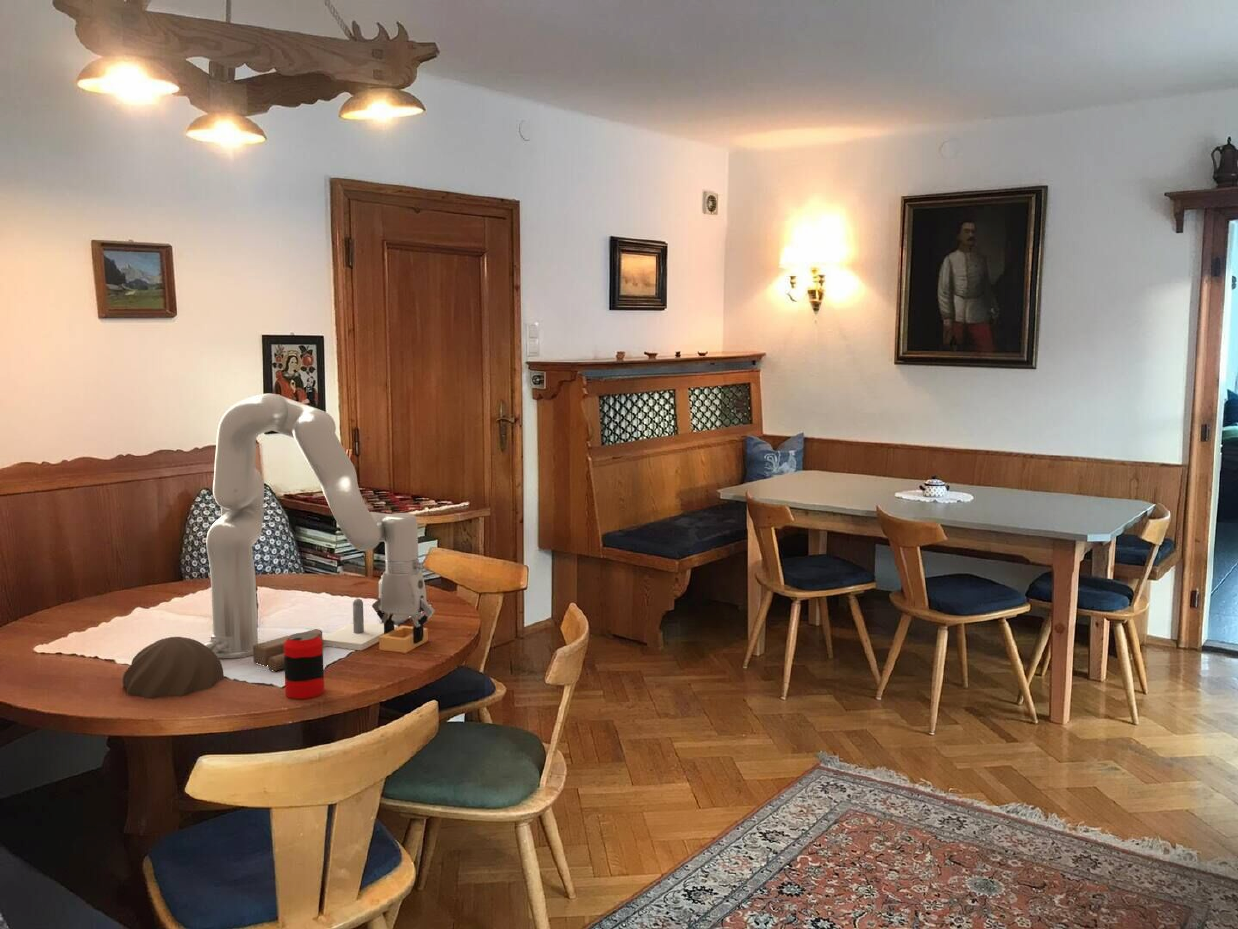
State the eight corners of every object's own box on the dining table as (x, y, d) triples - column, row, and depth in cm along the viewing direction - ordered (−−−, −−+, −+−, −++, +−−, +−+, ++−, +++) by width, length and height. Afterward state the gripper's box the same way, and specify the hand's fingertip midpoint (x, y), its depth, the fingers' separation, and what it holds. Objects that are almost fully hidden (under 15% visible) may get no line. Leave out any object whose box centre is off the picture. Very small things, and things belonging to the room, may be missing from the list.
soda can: (278, 698, 206) (275, 640, 205) (298, 685, 214) (296, 629, 212) (311, 701, 204) (309, 643, 203) (331, 688, 212) (329, 632, 210)
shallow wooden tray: (405, 653, 235) (405, 640, 235) (379, 649, 238) (379, 637, 237) (427, 640, 245) (427, 628, 244) (402, 637, 247) (401, 625, 247)
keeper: (361, 650, 237) (360, 609, 236) (317, 645, 241) (316, 605, 239) (398, 631, 252) (397, 593, 251) (356, 626, 256) (355, 588, 254)
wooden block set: (248, 641, 226) (315, 623, 241) (249, 666, 227) (316, 646, 241) (296, 655, 216) (363, 635, 231) (297, 681, 217) (364, 660, 232)
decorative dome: (240, 682, 216) (238, 636, 215) (144, 707, 202) (141, 658, 200) (200, 661, 229) (198, 618, 228) (107, 683, 215) (104, 637, 214)
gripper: (443, 565, 239) (444, 639, 242) (378, 560, 245) (380, 632, 247) (426, 573, 232) (428, 648, 235) (360, 566, 238) (363, 641, 240)
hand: (403, 639), depth 241 cm, fingers closed on shallow wooden tray, 7 cm apart
